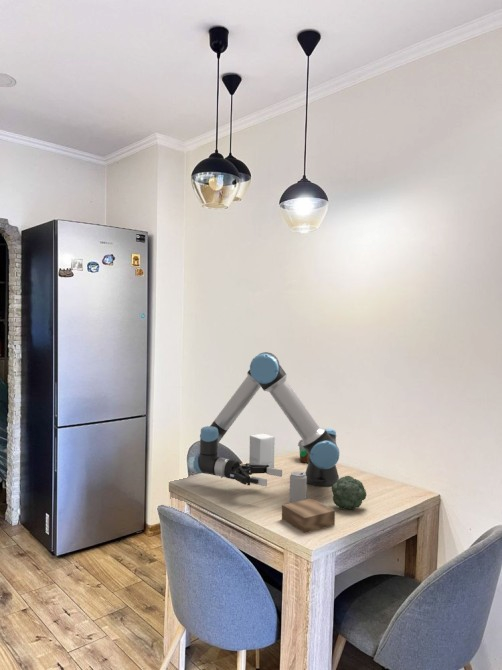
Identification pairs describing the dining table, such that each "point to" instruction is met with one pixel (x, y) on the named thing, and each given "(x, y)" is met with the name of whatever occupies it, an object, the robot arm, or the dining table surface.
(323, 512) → the walnut block
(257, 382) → the robot arm
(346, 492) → the vegetable
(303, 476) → the beverage can
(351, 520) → the dining table surface
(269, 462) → the supplement box
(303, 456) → the food container
